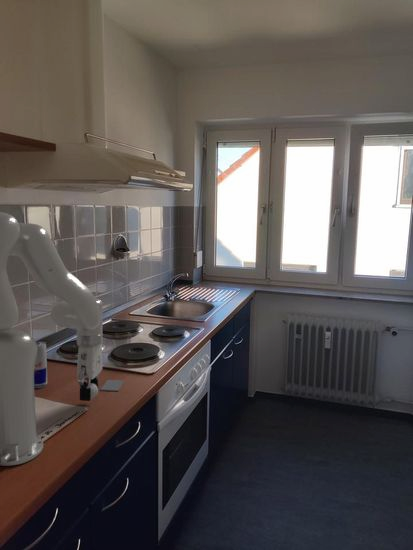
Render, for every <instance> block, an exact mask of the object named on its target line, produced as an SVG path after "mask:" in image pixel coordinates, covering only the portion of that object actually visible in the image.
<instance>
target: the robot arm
mask: <svg viewBox="0 0 413 550" xmlns="http://www.w3.org/2000/svg"><path fill="white" fill-rule="evenodd" d="M9 256H14V257H19V258H20V259H21V261H22V262H23V264H24V265H25V268H26V269H27V270H28V272H29V275H30V276H31V277H32V279H33V281H34V283H35V284H36V286H37V287H38V288H40V289H41V290H42V291H44V292H46V293H48V294H50V295H52V296H54V297H56V298H59V299H61V301H59V302H57V303H56V304H55V305H53V307H52V308H51V310H50V319H51V321H52V323H53V324H54V325H56V326H59V327H61V328H66V329H71V330H72V329H73V330H76V346H78V351H77V362H76V363H77V366H76V368H77V369H76V370H77V372H76V373H77V378H78V380H77V383H78V384H79V386H78V387H79V401H82V402H83V401H85V402H90V401H91V400H92V399H91V388H89V387H90V383H93V384H95V385H96V386H97V388H98V389H99V375H100V373H101V372H102V370H103V368H104V367H103V348H102V345H103V329H104V328H103V324H104V320H103V319H104V318H103V316H104V303H103V301H102V300H101V299H100V298H97V297H95V296H94V294H93V293H92V291H91V290H90V288H88V287H87V285H85V284H84V283H83V282H82V281H81V280H80V279H78V277H76V276H75V275H74V274H73V273H71V272H70V271H69V270H68V269H67V268H66V266H65V264H64V262H63V260H62V258H61V256H60V255H59V253H58V251H57V248H56V246H55V244H54V242H53V240H52V238H51V236H50V234H49V233H48V231H47V229H46V228H44V227H43V226H42V225H40V224H36V223H29V222H19V221H18V220H17V219H16V217H14V216H13V215H12V214H9V213H7V212H2V211H0V466H4V467H10V466H17V465H21V464H25V463H27V462H30V461H31V460H33V459H35V458H36V457H38V455H40V454H41V453H42V451H43V449H44V441H43V439H42V438H41V437H39V436H38V435H37V419H36V418H37V417H36V398H35V397H36V396H35V395H36V393H35V392H36V391H35V387H34V368H35V361H36V356H37V344H36V342H37V341H36V340H35V339H34V337H33V336H32V335H31V334H29V333H27V332H25V331H23V330H19V329H14V328H13V327H15V326H16V324H17V323H18V320H19V316H20V313H19V308H18V304H17V301H16V297H15V295H14V292H13V289H12V285H11V283H10V279H9V275H8V271H7V263H8V258H9ZM85 376H87V377H85ZM86 380H87V381H86Z"/></svg>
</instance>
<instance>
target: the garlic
mask: <svg viewBox="0 0 413 550" xmlns="http://www.w3.org/2000/svg"><path fill="white" fill-rule="evenodd" d="M89 388H91V400H92V399H95V398H96V397H97V396H98V393H99V387H98V388H97V386H96V385H95V384H93V383H90V387H89Z"/></svg>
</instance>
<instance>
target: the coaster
mask: <svg viewBox="0 0 413 550" xmlns="http://www.w3.org/2000/svg"><path fill="white" fill-rule="evenodd" d="M124 383H125V380H118V379H116V380H114V379H107V380H106V381H105V383H104V384H103V385H102V386H101V388H100V391H103V392H119V391H120V389H121V388H122V386H123V385H124Z"/></svg>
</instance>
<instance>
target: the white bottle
mask: <svg viewBox="0 0 413 550" xmlns="http://www.w3.org/2000/svg"><path fill="white" fill-rule="evenodd" d="M36 344H37V356H36V361H35V368H34V389H41V388H45V386H47V384H48V364H47V363H48V361H47V359H48V358H47V343H46V342H45V341H36Z"/></svg>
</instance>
